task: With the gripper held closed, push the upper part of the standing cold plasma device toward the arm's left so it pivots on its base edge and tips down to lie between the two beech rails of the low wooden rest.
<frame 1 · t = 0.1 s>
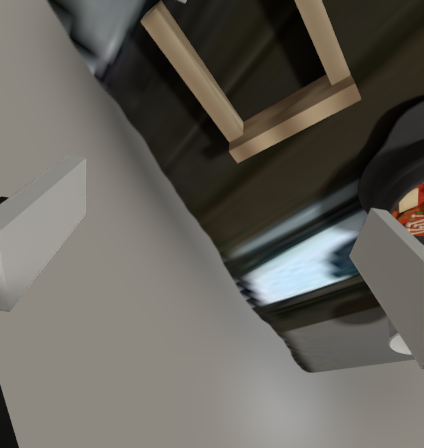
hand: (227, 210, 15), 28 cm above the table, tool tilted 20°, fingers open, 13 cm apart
teacup: (406, 289, 67), on the table
u rest: (248, 39, 35), on the table
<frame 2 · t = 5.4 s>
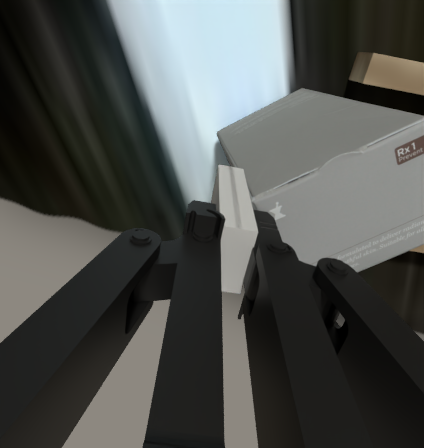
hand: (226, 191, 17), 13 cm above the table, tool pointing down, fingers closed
skincare box: (271, 136, 29), on the table, touching gripper
u rest: (411, 161, 30), on the table
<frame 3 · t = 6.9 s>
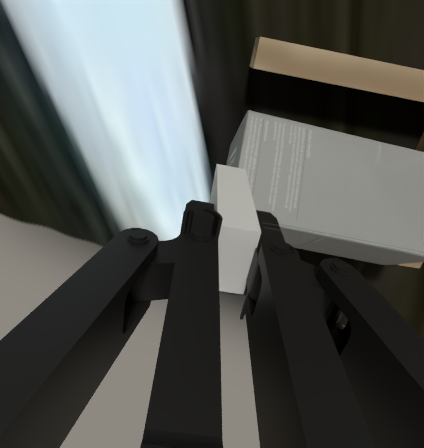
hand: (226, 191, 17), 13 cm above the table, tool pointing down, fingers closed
skincare box: (226, 169, 25), point 5 cm above the table, touching u rest
u rest: (323, 150, 29), on the table
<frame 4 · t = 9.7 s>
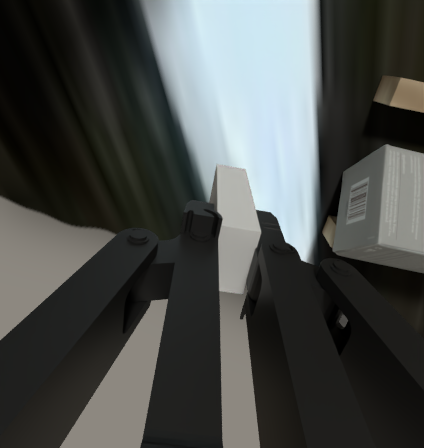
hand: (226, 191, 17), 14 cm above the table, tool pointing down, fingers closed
skincare box: (356, 197, 27), point 5 cm above the table, touching u rest
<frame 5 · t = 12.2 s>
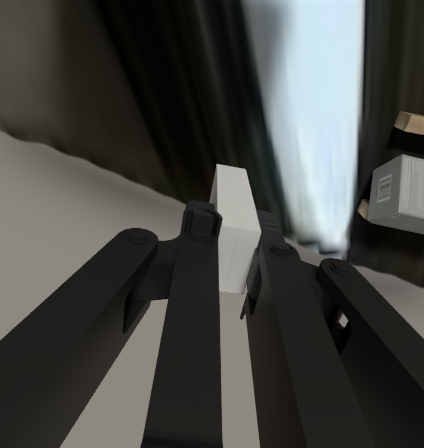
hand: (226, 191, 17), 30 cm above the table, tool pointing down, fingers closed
skincare box: (383, 186, 44), point 5 cm above the table, touching u rest
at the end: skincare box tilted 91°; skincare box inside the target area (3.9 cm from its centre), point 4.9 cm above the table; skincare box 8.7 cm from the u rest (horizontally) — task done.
